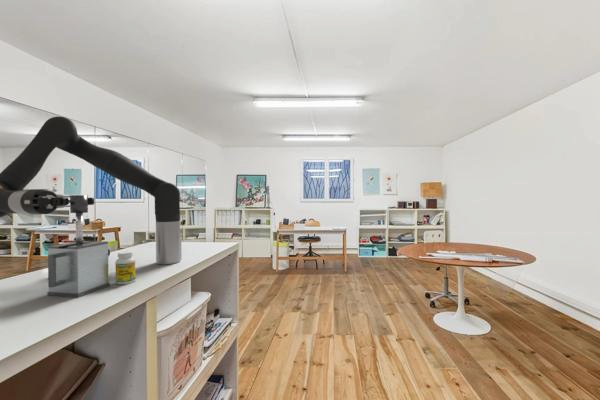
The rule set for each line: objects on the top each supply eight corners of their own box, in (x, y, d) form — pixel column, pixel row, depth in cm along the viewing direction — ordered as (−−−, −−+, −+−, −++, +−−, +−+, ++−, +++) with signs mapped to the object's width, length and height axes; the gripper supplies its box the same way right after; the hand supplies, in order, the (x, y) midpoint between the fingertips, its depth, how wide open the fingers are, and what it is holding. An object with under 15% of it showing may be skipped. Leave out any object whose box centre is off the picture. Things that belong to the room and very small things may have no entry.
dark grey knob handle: (80, 254, 83) (80, 195, 83) (100, 254, 82) (100, 195, 82) (57, 259, 77) (56, 195, 76) (78, 259, 75) (77, 195, 75)
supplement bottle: (135, 278, 91) (134, 250, 91) (136, 282, 86) (135, 252, 86) (115, 281, 88) (115, 251, 88) (115, 285, 83) (115, 254, 83)
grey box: (81, 284, 85) (81, 240, 85) (109, 285, 84) (109, 241, 84) (34, 299, 72) (34, 248, 72) (66, 301, 71) (66, 249, 71)
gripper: (4, 188, 75) (53, 187, 72) (58, 190, 89) (101, 189, 86) (5, 215, 75) (54, 215, 72) (58, 212, 89) (101, 212, 86)
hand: (79, 201), depth 79 cm, fingers open, 8 cm apart
